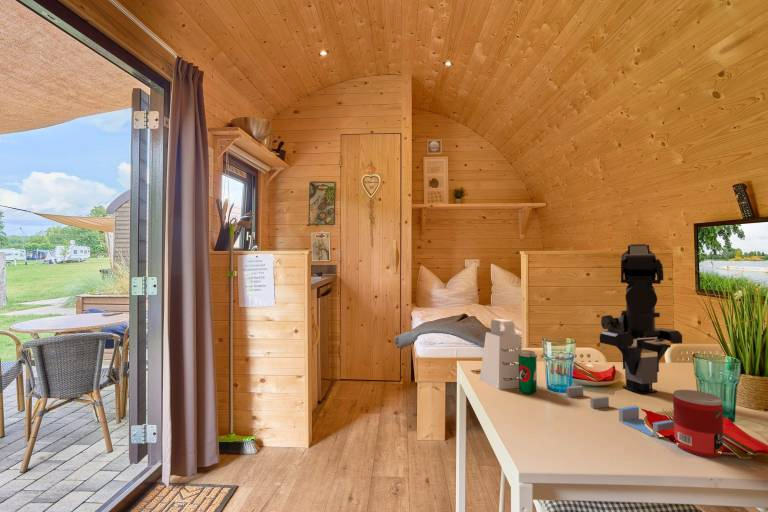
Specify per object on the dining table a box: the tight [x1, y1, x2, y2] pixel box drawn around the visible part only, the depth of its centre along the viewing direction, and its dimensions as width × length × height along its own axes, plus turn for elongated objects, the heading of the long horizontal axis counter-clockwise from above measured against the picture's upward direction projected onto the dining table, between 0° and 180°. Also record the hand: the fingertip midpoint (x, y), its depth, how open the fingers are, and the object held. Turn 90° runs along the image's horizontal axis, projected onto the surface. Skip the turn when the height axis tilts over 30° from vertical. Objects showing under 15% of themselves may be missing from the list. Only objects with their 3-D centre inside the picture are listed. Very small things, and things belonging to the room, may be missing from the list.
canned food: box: [672, 389, 724, 458], centre depth 82 cm, size 8×8×11 cm
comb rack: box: [565, 385, 674, 439], centre depth 100 cm, size 6×28×3 cm, turn 16°
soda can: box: [517, 349, 538, 395], centre depth 117 cm, size 5×5×12 cm
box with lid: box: [624, 349, 659, 384], centre depth 93 cm, size 5×5×7 cm
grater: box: [479, 318, 523, 391], centre depth 126 cm, size 10×10×20 cm
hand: (641, 373), depth 93 cm, fingers closed on box with lid, 4 cm apart
